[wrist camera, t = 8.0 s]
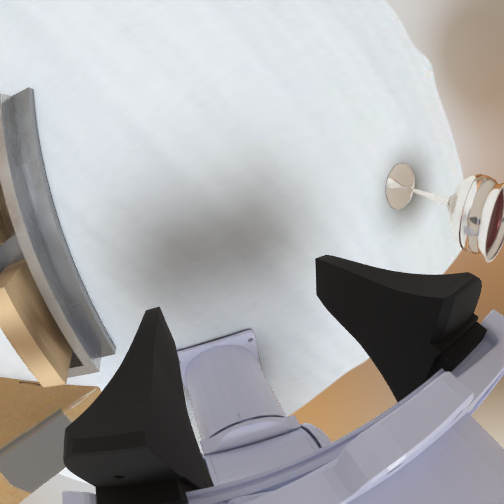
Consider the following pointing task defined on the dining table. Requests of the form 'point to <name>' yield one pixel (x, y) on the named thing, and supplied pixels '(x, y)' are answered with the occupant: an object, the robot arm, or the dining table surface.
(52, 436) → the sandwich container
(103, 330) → the track
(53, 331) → the tan rectangular block
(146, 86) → the dining table surface
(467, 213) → the wineglass
